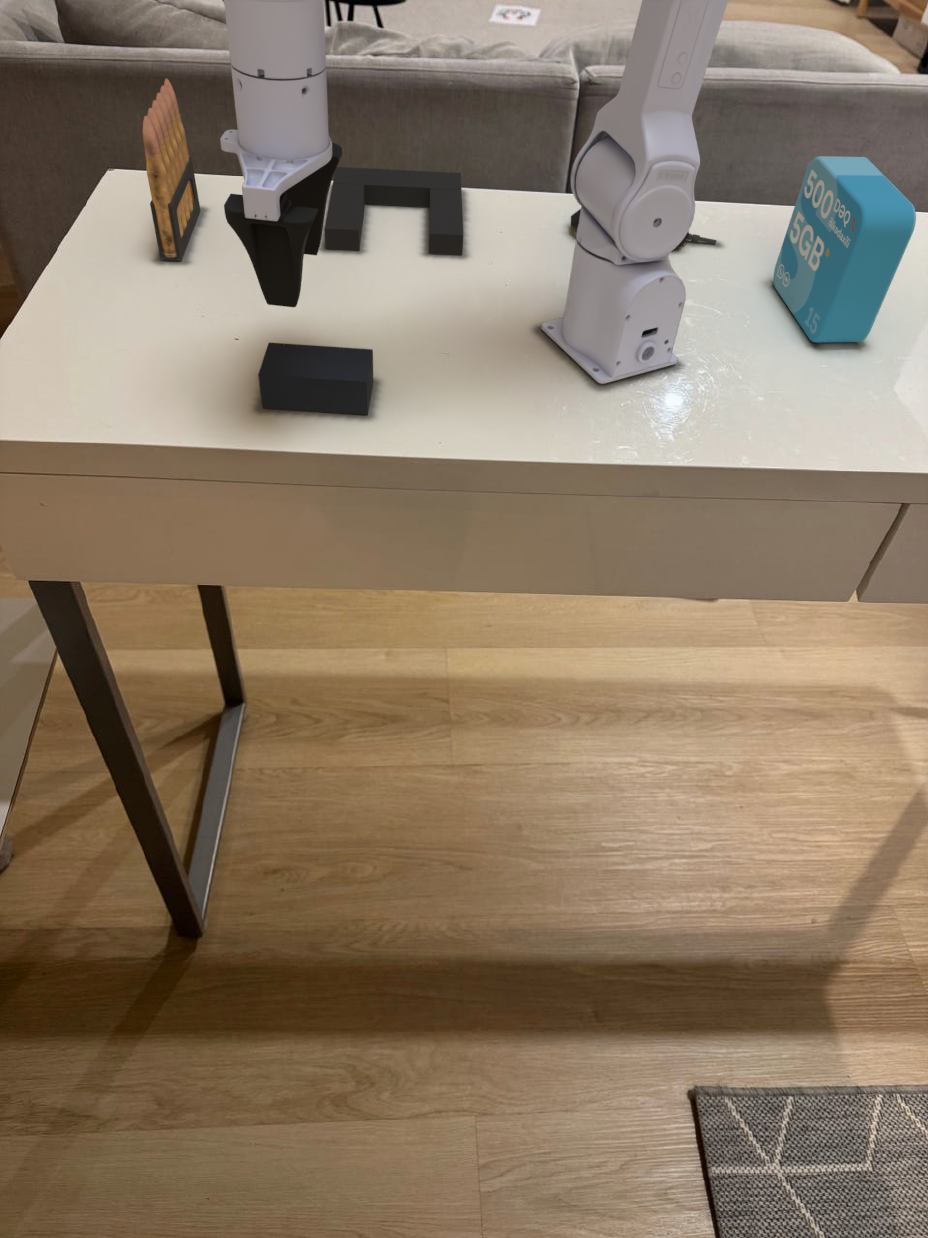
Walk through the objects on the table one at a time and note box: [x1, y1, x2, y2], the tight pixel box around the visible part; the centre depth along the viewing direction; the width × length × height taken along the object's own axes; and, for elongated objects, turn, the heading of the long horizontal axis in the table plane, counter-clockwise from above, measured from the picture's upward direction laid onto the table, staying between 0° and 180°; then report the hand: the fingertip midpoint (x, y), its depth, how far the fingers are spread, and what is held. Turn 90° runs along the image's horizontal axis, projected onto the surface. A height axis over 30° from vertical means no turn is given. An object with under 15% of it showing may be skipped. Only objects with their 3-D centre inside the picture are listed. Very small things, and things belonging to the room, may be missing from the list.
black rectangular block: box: [257, 342, 374, 416], centre depth 69 cm, size 8×4×3 cm, turn 88°
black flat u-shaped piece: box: [324, 166, 464, 256], centre depth 90 cm, size 14×13×2 cm
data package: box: [773, 155, 917, 343], centre depth 78 cm, size 12×4×12 cm, turn 6°
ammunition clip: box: [142, 78, 201, 262], centre depth 82 cm, size 11×2×12 cm, turn 1°
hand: (293, 276), depth 65 cm, fingers open, 7 cm apart
